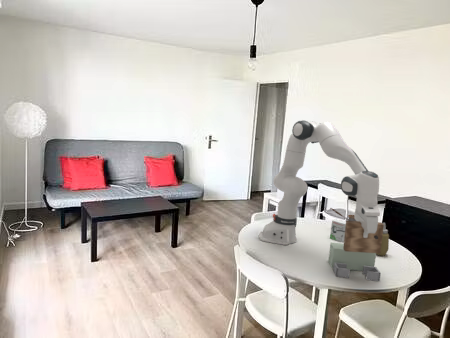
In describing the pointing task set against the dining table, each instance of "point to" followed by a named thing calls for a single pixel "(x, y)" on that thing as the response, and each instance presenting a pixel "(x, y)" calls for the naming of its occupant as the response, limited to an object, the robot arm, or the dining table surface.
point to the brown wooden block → (362, 238)
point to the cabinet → (352, 262)
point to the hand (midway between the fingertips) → (363, 235)
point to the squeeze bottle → (384, 242)
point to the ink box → (338, 230)
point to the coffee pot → (351, 217)
